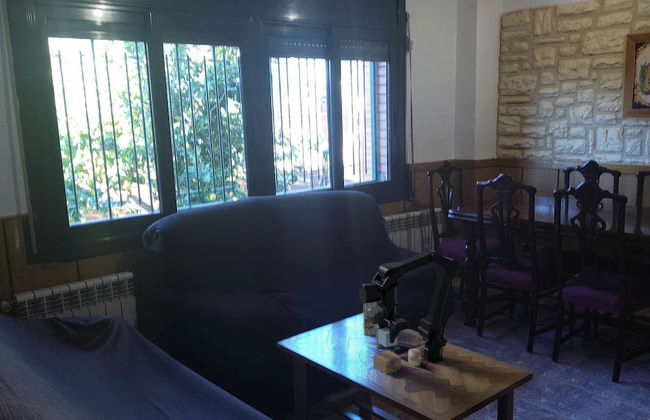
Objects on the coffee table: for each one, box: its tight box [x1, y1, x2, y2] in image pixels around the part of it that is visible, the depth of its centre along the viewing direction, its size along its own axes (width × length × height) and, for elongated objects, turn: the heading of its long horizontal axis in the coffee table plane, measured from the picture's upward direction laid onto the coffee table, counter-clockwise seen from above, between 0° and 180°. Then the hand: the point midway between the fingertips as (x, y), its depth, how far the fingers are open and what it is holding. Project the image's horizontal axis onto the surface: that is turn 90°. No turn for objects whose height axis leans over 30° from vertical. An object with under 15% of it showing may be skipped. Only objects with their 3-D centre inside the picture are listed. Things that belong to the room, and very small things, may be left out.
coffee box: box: [362, 302, 378, 336], centre depth 233 cm, size 9×6×16 cm
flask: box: [375, 322, 399, 350], centre depth 218 cm, size 9×3×11 cm, turn 109°
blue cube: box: [378, 328, 398, 348], centre depth 198 cm, size 5×5×5 cm
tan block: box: [373, 349, 402, 375], centre depth 200 cm, size 7×7×5 cm
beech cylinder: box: [407, 348, 422, 367], centre depth 203 cm, size 5×5×5 cm
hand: (387, 340), depth 198 cm, fingers closed on blue cube, 5 cm apart
